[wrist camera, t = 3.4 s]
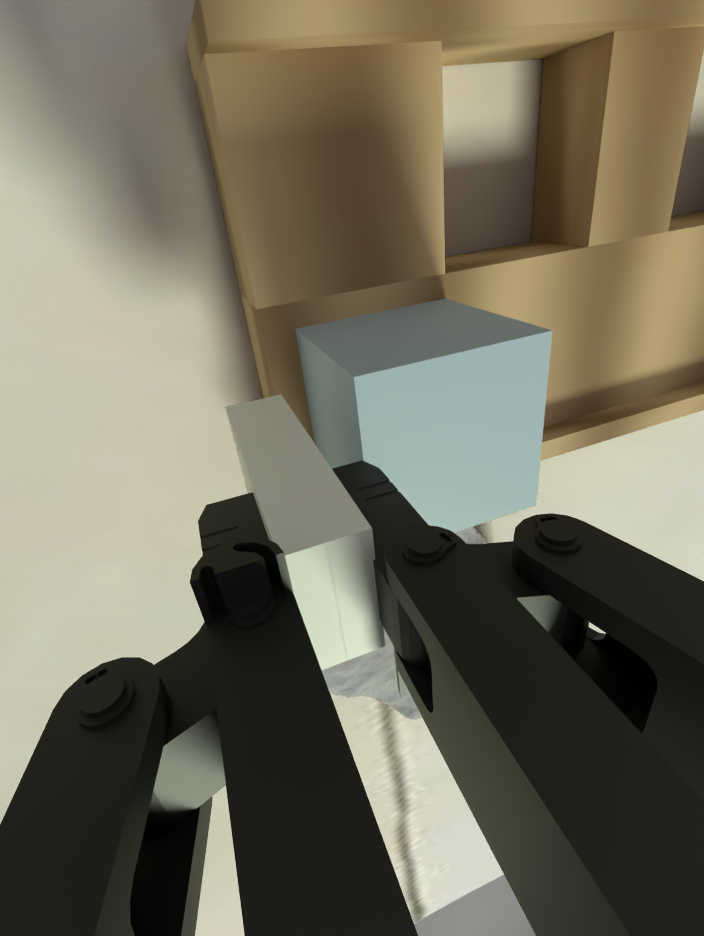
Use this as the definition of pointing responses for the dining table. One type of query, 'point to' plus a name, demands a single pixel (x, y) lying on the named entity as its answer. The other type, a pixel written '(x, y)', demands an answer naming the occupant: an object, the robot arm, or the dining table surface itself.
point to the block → (433, 405)
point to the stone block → (380, 667)
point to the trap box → (422, 186)
